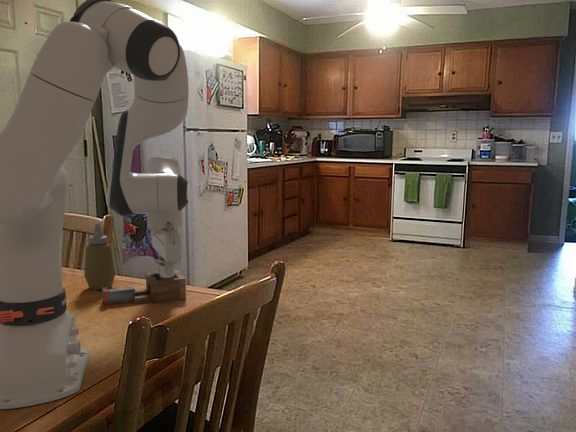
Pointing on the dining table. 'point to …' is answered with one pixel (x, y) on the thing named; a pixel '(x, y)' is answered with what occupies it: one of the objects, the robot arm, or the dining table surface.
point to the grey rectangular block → (118, 295)
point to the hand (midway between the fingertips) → (166, 271)
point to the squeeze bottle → (99, 261)
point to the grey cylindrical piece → (162, 270)
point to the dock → (162, 289)
